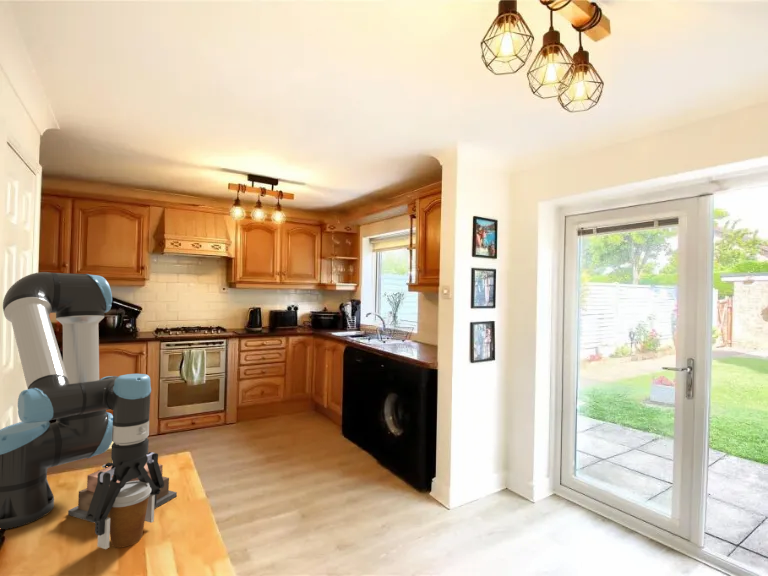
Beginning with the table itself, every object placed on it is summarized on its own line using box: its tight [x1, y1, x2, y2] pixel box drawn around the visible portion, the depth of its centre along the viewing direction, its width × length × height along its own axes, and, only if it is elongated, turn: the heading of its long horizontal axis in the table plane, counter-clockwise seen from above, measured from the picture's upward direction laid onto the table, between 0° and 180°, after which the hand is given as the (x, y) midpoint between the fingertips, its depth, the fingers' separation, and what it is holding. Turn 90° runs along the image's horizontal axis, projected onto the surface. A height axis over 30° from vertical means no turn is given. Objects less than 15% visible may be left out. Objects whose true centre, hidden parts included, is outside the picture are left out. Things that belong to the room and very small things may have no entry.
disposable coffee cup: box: [108, 481, 152, 548], centre depth 96 cm, size 10×10×12 cm
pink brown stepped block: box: [67, 462, 178, 524], centre depth 111 cm, size 18×18×10 cm
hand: (127, 533), depth 96 cm, fingers open, 11 cm apart
